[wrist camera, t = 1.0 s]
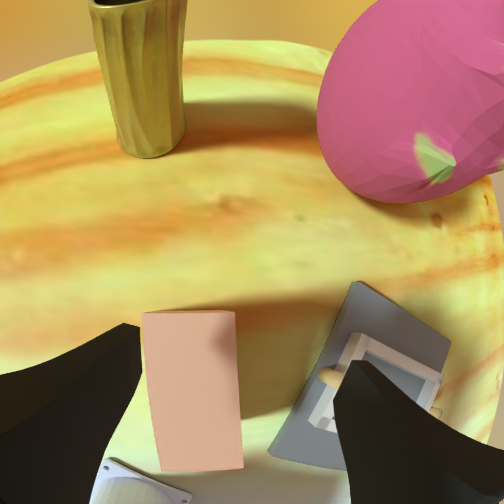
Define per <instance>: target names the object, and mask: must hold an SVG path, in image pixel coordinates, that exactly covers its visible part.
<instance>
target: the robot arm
mask: <svg viewBox="0 0 504 504" xmlns="http://www.w3.org/2000/svg"><path fill="white" fill-rule="evenodd" d="M141 374H142V360H141V343H140V327H138V326H134V325H130V324H126V323H122V324H120V325H118V326H116V327H114V328H112V329H111V330H109V331H107V332H105V333H103V334H101V335H100V336H98V337H96V338H94V339H92V340H90V341H88V342H87V343H85V344H83V345H81V346H79V347H77V348H75V349H73V350H71V351H69V352H66V353H64V354H62V355H60V356H58V357H56V358H53V359H51V360H49V361H46V362H44V363H41V364H38V365H35V366H32V367H29V368H26V369H23V370H19V371H15V372H11V373H6V374H2V375H0V504H189V503H190V501H191V500H192V495H191V494H189V493H187V492H184V491H181V490H178V489H175V488H173V487H170V486H167V485H165V484H162V483H160V482H157V481H155V480H153V479H150V478H148V477H146V476H143V475H141V474H139V473H137V472H135V471H133V470H131V469H128V468H126V467H124V466H122V465H120V464H119V463H117V462H115V461H113V460H111V459H109V458H106V459H104V460H103V462H102V464H101V461H102V458H103V455H104V452H105V450H106V448H107V445H108V443H109V441H110V439H111V437H112V435H113V433H114V431H115V429H116V428H117V426H118V424H119V422H120V420H121V418H122V416H123V414H124V413H125V411H126V409H127V407H128V405H129V403H130V401H131V399H132V397H133V396H134V393H135V391H136V388H137V385H138V383H139V380H140V377H141ZM333 408H334V417H335V425H336V429H337V433H338V437H339V441H340V445H341V449H342V453H343V457H344V461H345V465H346V469H347V473H348V478H349V484H350V495H351V504H499V502H500V501H501V500H503V499H504V450H501V449H497V448H495V447H492V446H489V445H486V444H483V443H481V442H478V441H476V440H474V439H472V438H470V437H468V436H466V435H463V434H461V433H460V432H458V431H456V430H454V429H452V428H451V427H449V426H448V425H446V424H445V423H443V422H441V421H440V420H438V419H437V418H435V417H434V416H433V415H431V414H430V413H429V412H427V411H426V410H425V409H423V408H422V407H421V406H420V405H418V404H417V403H416V402H415V401H413V400H412V399H411V398H410V397H409V396H408V395H406V394H405V393H404V392H403V391H402V390H401V389H400V388H398V387H397V386H396V385H395V384H394V383H393V382H392V381H391V380H390V379H388V378H387V377H386V376H385V375H384V374H383V373H382V372H381V371H379V370H378V369H377V368H376V367H375V366H374V365H372V364H371V363H370V362H369V361H367V360H351V363H350V365H349V367H348V369H347V372H346V374H345V376H344V378H343V380H342V382H341V384H340V386H339V389H338V391H337V393H336V395H335V397H334V399H333ZM100 464H101V467H100ZM105 466H107V467H109V468H106V467H105ZM99 467H100V469H99ZM98 470H99V471H98ZM97 473H98V474H97ZM182 500H186V501H182Z"/></svg>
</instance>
